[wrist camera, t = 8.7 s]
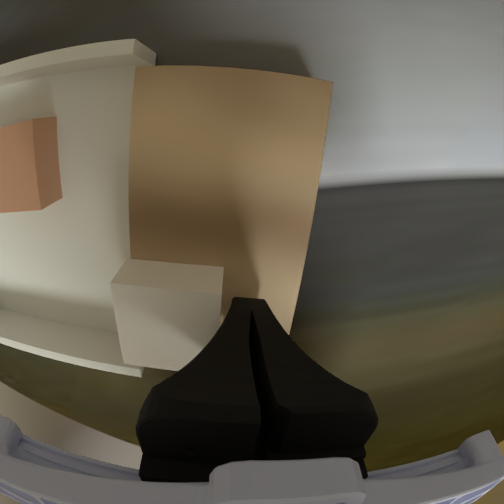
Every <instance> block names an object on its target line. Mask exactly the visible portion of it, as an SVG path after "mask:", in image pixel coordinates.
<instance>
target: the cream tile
mask: <svg viewBox="0 0 504 504" xmlns="http://www.w3.org/2000/svg"><path fill="white" fill-rule="evenodd" d="M223 275H224V267H219V266H207V265H195V264H183V263H171V262H160V261H149V260H138V259H126V261H125V262H124V264H123V265H122V266H121V268H120V269H119V271H118V272H117V274H116V275H115V277H114V278H113V279H112V281H111V282H110V285H111V292H112V300H113V306H114V313H115V319H116V325H117V331H118V337H119V342H120V347H121V352H122V357H123V362H124V364H129V365H136V366H142V367H149V368H157V369H165V370H173V371H179V370H180V369H182V368H183V367H184V366H185V365H187V364H188V363H189V362H190V361H191V360H192V359H194V358H195V357H196V356H197V355H198V354H199V353H200V352H201V351H202V349H203V348H204V347H205V346H206V345H207V344H208V343H209V341H210V340H211V339H212V337H213V336H214V335H215V333H216V332H217V330H218V329H219V327H220V319H221V303H222V289H223Z"/></svg>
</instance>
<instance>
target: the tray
mask: <svg viewBox="0 0 504 504" xmlns="http://www.w3.org/2000/svg"><path fill="white" fill-rule="evenodd" d="M155 62H156V53H155V52H154V51H152V50H151V49H149V48H148V47H147V46H145V45H144V44H142V43H141V42H139V41H138V40H136V39H123V40H114V41H106V42H98V43H91V44H85V45H79V46H73V47H68V48H63V49H58V50H53V51H49V52H44V53H40V54H36V55H32V56H28V57H25V58H21V59H18V60H14V61H11V62H8V63H5V64H1V65H0V128H1V127H5V126H8V125H12V124H15V123H19V122H23V121H26V120H30V119H36V118H46V117H57V141H58V156H59V169H60V179H61V188H62V196H63V198H61V199H60V200H58V201H56V202H54V203H52V204H51V205H49V206H47V207H46V208H44V209H42V210H35V211H21V212H8V213H0V343H2V344H5V345H8V346H11V347H14V348H17V349H20V350H23V351H27V352H30V353H33V354H37V355H40V356H44V357H48V358H51V359H55V360H59V361H63V362H67V363H71V364H76V365H80V366H84V367H89V368H93V369H98V370H103V371H108V372H113V373H119V374H124V375H130V376H136V377H142V374H143V371H144V368H145V367H142V366H136V365H129V364H124V362H123V357H122V352H121V347H120V342H119V337H118V331H117V325H116V319H115V313H114V306H113V300H112V292H111V285H110V282H111V281H112V279H113V278H114V277H115V275H116V274H117V272H118V271H119V269H120V268H121V266H122V265H123V264H124V262H125V261H126V259H131V254H130V234H129V144H130V124H131V110H132V98H133V87H134V77H135V69H136V66H155Z"/></svg>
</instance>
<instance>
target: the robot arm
mask: <svg viewBox="0 0 504 504" xmlns="http://www.w3.org/2000/svg"><path fill="white" fill-rule="evenodd" d="M377 425H378V417H377V414H376V411H375V409H374V406H373V404H372V402H371V400H370V398H369V396H368V394H367V393H365V392H363V391H361V390H359V389H357V388H355V387H353V386H351V385H349V384H347V383H345V382H343V381H342V380H340V379H338V378H337V377H335V376H334V375H332V374H331V373H329V372H328V371H326V370H325V369H324V368H322V367H321V366H320V365H318V364H317V363H316V362H314V361H313V360H312V359H311V358H310V357H309V356H308V355H307V354H306V353H304V352H303V351H302V350H301V349H300V348H299V347H298V346H297V344H296V343H295V342H294V341H293V340H292V339H291V337H290V336H289V335H288V334H287V332H286V331H285V330H284V328H283V327H282V326H281V324H280V323H279V321H278V320H277V318H276V317H275V315H274V314H273V312H272V310H271V309H270V307H269V305H268V304H267V302H266V301H265V299H256V298H243V297H234V298H233V299H232V303H231V306H230V309H229V311H228V313H227V315H226V317H225V319H224V321H223V322H222V324H221V326H220V327H219V329H218V330H217V332H216V333H215V335H214V336H213V337H212V339H211V340H210V341H209V343H208V344H207V345H206V346H205V347H204V348H203V349H202V351H201V352H200V353H199V354H198V355H197V356H196V357H195V358H194V359H192V360H191V361H190V362H189V363H188V364H187V365H185V366H184V367H183V368H182V369H180V370H179V371H178V372H176V373H175V374H174V375H172V376H171V377H169V378H167V379H166V380H164V381H162V382H161V383H159V384H157V385H156V386H154V387H153V388H152V389H151V391H150V393H149V394H148V396H147V398H146V400H145V402H144V404H143V406H142V408H141V411H140V414H139V417H138V421H137V425H136V434H137V438H138V441H139V444H140V447H141V450H142V453H143V455H142V460H141V464H140V469H139V470H137V469H133V468H127V467H123V466H119V465H114V464H111V463H107V462H103V461H99V460H95V459H92V458H88V457H85V456H81V455H78V454H75V453H72V452H69V451H65V450H63V449H60V448H57V447H54V446H51V445H48V444H46V443H43V442H41V441H38V440H35V439H33V438H31V437H28V436H26V435H23V434H22V432H21V430H20V428H19V427H18V426H17V424H16V423H14V422H13V421H12V420H10V419H9V418H7V417H4V416H2V415H0V492H1V493H3V494H4V495H6V496H8V497H10V498H12V499H14V500H15V501H17V502H19V503H21V504H470V503H472V502H474V501H476V500H477V499H478V498H480V497H481V496H483V495H484V494H485V493H486V492H488V491H489V490H490V489H492V488H493V487H494V486H495V485H497V484H498V483H499V482H500V481H502V480H503V479H504V456H503V455H502V453H501V451H500V449H499V447H498V445H497V443H496V441H495V440H494V438H493V436H492V434H491V432H490V431H489V430H486V431H484V432H481V433H478V434H476V435H473V436H471V437H469V438H468V439H466V440H465V441H464V442H463V443H462V444H461V445H460V447H459V448H458V449H456V450H453V451H450V452H447V453H444V454H441V455H438V456H434V457H431V458H428V459H424V460H420V461H417V462H413V463H409V464H405V465H401V466H396V467H392V468H387V469H382V470H377V471H372V472H367V470H366V466H365V463H364V459H363V458H365V456H366V451H365V448H364V445H365V443H366V442H367V441H368V439H369V438H370V436H371V435H372V433H373V432H374V431H375V429H376V427H377Z"/></svg>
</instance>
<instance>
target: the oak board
mask: <svg viewBox="0 0 504 504" xmlns="http://www.w3.org/2000/svg"><path fill="white" fill-rule="evenodd" d="M332 85H333V82H330V81H325V80H320V79H315V78H310V77H304V76H298V75H292V74H285V73H278V72H270V71H262V70H253V69H243V68H231V67H215V66H187V65H162V66H136V69H135V77H134V87H133V98H132V110H131V124H130V144H129V234H130V254H131V259H138V260H149V261H160V262H171V263H183V264H195V265H207V266H219V267H224V275H223V289H222V303H221V319H220V326H221V324H222V322H223V321H224V319H225V317H226V315H227V313H228V311H229V309H230V306H231V303H232V299H233V298H234V297H243V298H256V299H265V301H266V302H267V304H268V305H269V307H270V309H271V310H272V312H273V314H274V315H275V317H276V318H277V320H278V321H279V323H280V324H281V326H282V327H283V328H284V330H285V331H286V332H287V334H288V335H289V334H290V329H291V325H292V320H293V316H294V311H295V306H296V302H297V297H298V292H299V287H300V283H301V278H302V273H303V268H304V263H305V258H306V252H307V247H308V242H309V236H310V231H311V226H312V220H313V214H314V209H315V203H316V197H317V191H318V185H319V179H320V172H321V166H322V159H323V153H324V146H325V139H326V132H327V125H328V117H329V110H330V102H331V94H332Z"/></svg>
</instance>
